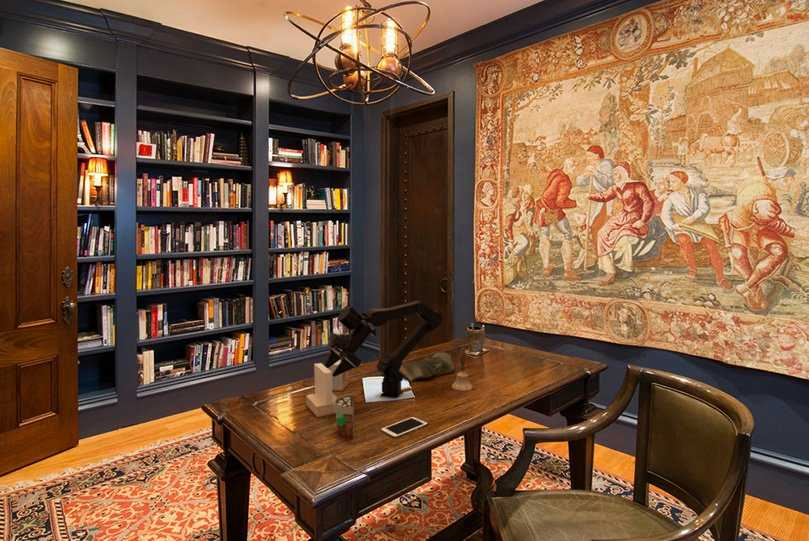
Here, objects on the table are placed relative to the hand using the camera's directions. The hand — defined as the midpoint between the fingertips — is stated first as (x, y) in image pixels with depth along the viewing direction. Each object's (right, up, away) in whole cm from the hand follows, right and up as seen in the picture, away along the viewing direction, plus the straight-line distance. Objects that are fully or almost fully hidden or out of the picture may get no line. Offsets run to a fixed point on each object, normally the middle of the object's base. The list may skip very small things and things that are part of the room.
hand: (328, 372), depth 162 cm
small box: (+1, -11, +22) cm, 24 cm away
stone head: (+36, -9, +40) cm, 54 cm away
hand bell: (+50, -11, +20) cm, 55 cm away
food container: (+8, -15, -18) cm, 24 cm away
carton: (-1, -13, 0) cm, 13 cm away
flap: (-2, -10, 0) cm, 10 cm away
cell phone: (+27, -15, -15) cm, 34 cm away
